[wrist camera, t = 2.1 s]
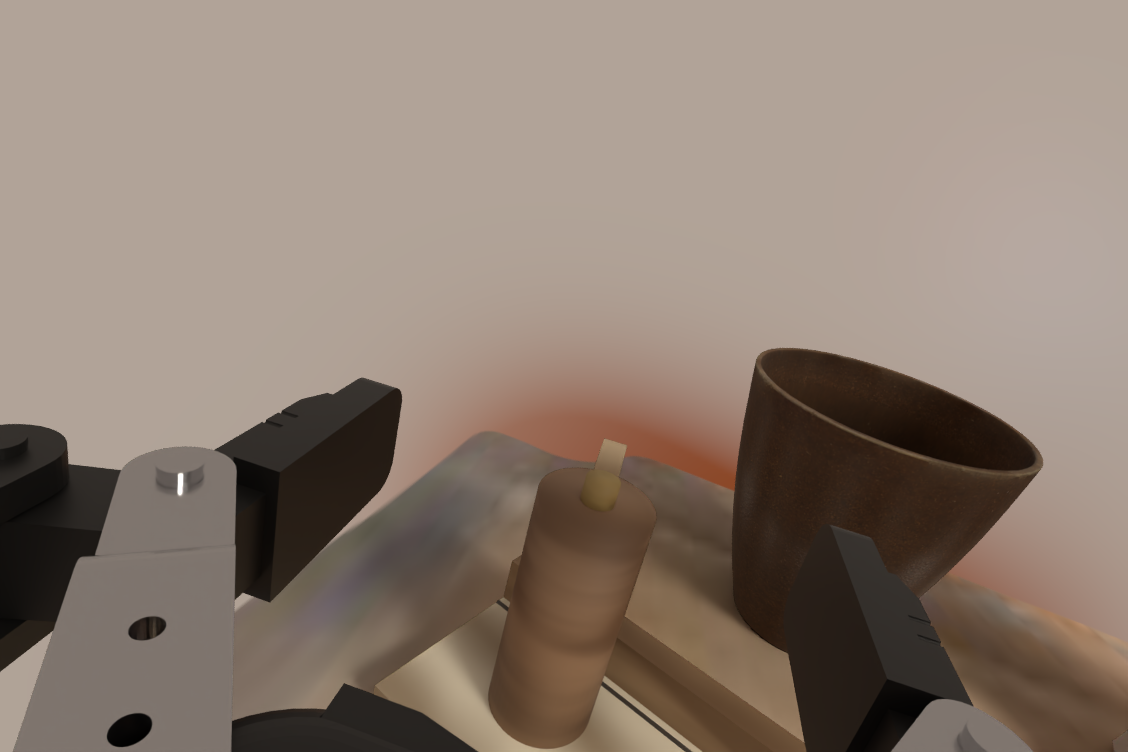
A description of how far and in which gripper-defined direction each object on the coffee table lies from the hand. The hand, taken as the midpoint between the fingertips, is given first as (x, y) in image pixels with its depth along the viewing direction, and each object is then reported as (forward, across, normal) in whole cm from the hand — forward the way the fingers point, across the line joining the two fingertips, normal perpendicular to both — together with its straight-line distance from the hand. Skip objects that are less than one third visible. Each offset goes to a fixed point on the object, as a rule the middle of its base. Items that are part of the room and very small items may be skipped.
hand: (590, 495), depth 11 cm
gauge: (+14, 0, +18) cm, 23 cm away
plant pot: (+25, -14, +20) cm, 35 cm away
